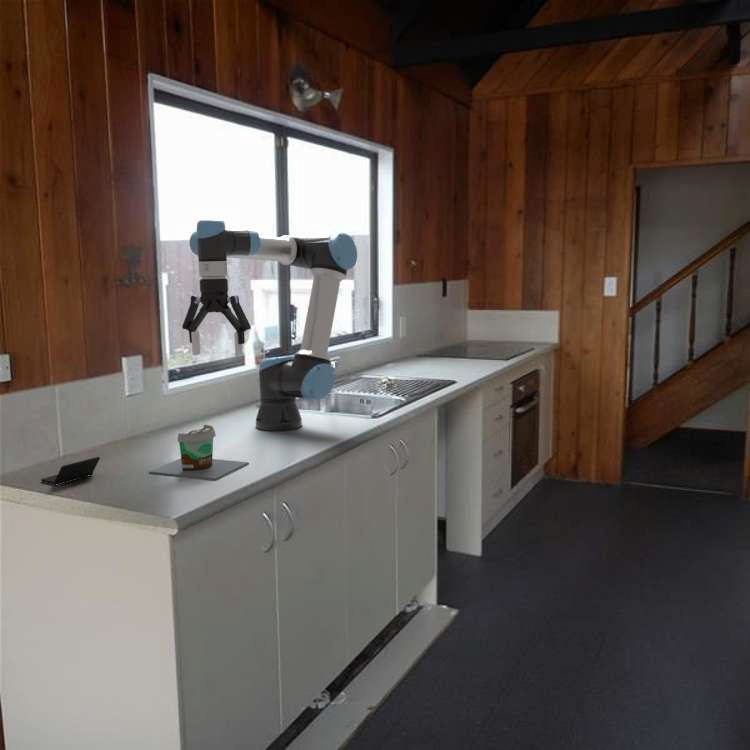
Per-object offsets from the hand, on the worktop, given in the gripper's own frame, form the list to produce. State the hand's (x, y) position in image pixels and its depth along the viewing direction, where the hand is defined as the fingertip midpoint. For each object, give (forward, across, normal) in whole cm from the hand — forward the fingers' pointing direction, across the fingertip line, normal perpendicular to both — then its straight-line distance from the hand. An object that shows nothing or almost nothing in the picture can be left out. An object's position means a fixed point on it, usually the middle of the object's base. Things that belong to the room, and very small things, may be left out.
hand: (217, 355), depth 205 cm
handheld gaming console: (+28, -23, -34) cm, 49 cm away
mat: (+28, +2, -15) cm, 32 cm away
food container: (+28, +3, -15) cm, 32 cm away
